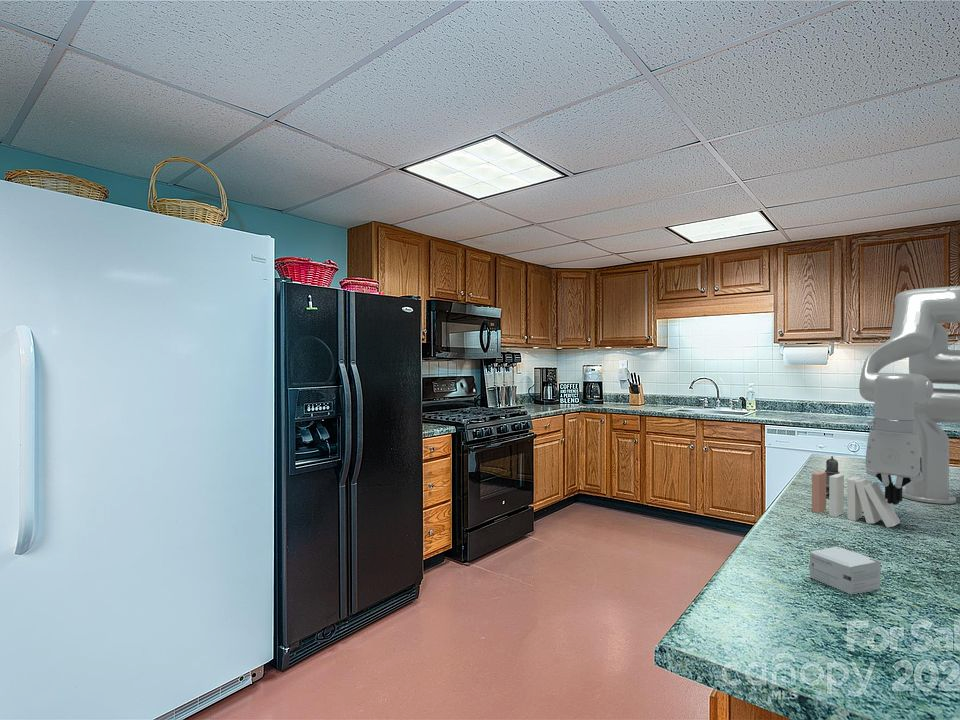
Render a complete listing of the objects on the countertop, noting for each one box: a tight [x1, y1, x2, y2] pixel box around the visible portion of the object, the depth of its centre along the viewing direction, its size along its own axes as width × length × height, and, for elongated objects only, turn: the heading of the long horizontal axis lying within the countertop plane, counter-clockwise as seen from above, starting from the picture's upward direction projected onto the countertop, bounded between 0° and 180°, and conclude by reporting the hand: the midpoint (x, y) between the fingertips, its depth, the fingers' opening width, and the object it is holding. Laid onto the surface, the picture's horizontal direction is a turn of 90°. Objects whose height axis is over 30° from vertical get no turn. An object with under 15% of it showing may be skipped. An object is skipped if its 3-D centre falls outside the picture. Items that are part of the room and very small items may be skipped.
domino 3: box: [855, 478, 882, 524], centre depth 128 cm, size 5×2×10 cm, turn 128°
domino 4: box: [864, 481, 901, 528], centre depth 126 cm, size 5×2×10 cm, turn 127°
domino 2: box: [846, 476, 863, 522], centre depth 131 cm, size 5×2×10 cm, turn 128°
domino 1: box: [828, 473, 845, 518], centre depth 134 cm, size 5×2×10 cm, turn 127°
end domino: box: [811, 470, 827, 514], centre depth 137 cm, size 5×2×10 cm, turn 127°
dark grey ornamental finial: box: [824, 455, 841, 499], centre depth 150 cm, size 6×6×12 cm
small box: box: [809, 546, 882, 596], centre depth 93 cm, size 8×8×5 cm
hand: (893, 502), depth 124 cm, fingers closed
